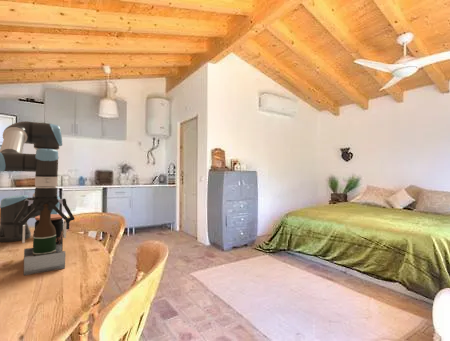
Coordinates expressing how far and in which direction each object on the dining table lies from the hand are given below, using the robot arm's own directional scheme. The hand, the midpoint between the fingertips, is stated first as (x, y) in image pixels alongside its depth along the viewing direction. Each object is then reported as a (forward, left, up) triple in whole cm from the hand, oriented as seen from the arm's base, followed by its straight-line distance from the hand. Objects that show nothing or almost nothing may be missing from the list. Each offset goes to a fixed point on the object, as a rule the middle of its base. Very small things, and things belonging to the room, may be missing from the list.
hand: (44, 239), depth 105 cm
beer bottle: (0, 0, -9) cm, 9 cm away
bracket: (0, 0, -11) cm, 11 cm away
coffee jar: (-13, +2, -11) cm, 17 cm away
